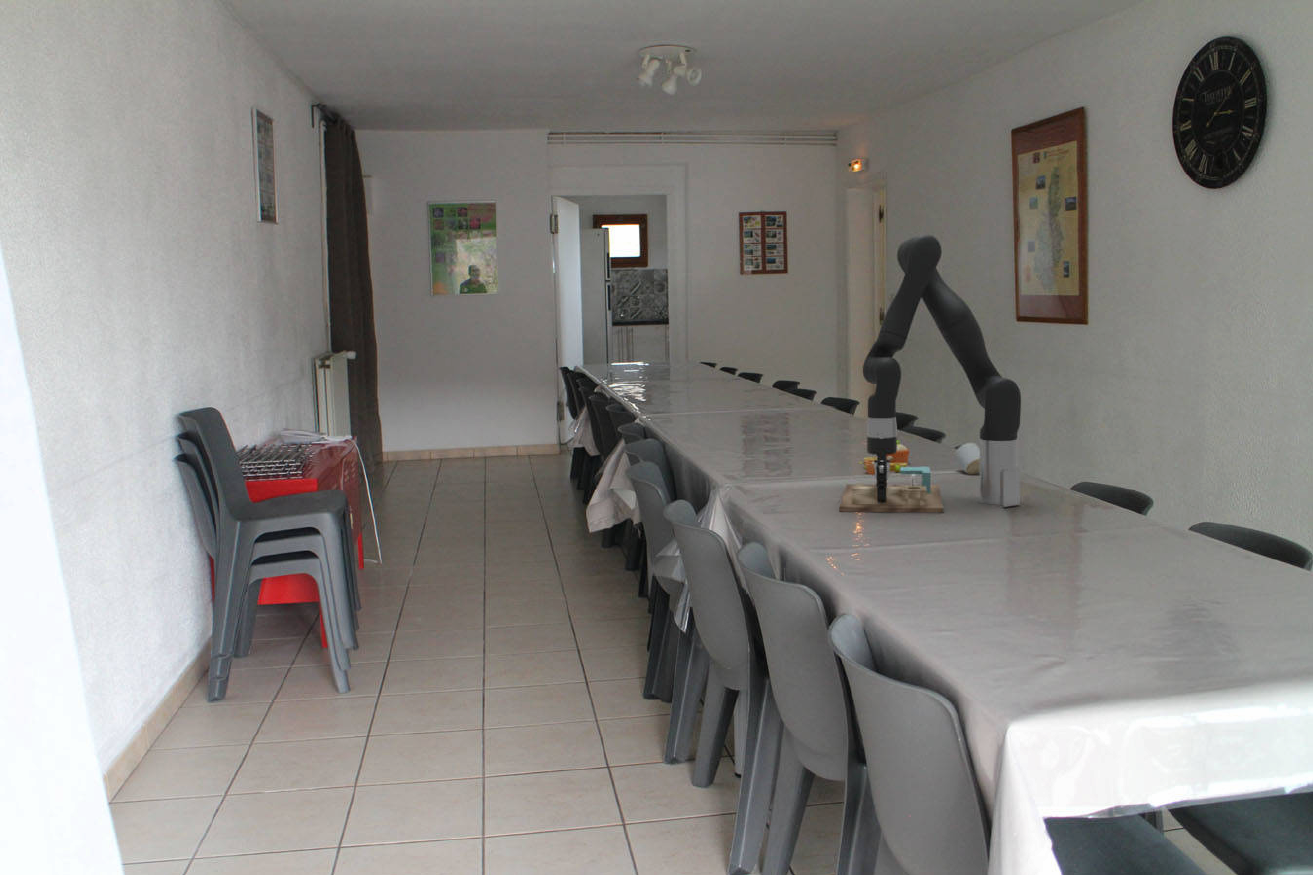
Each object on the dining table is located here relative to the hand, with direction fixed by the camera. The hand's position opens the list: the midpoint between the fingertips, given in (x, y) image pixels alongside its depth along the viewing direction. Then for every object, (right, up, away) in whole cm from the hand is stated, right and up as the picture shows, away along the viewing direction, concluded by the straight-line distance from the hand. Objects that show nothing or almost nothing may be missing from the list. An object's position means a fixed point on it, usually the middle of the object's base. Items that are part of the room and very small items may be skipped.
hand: (882, 500), depth 266 cm
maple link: (+2, -1, 0) cm, 2 cm away
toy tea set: (+14, +5, +61) cm, 63 cm away
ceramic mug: (+40, +5, +50) cm, 64 cm away
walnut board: (+5, 0, +11) cm, 12 cm away
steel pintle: (+10, 0, +8) cm, 13 cm away
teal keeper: (+13, +2, +19) cm, 23 cm away
